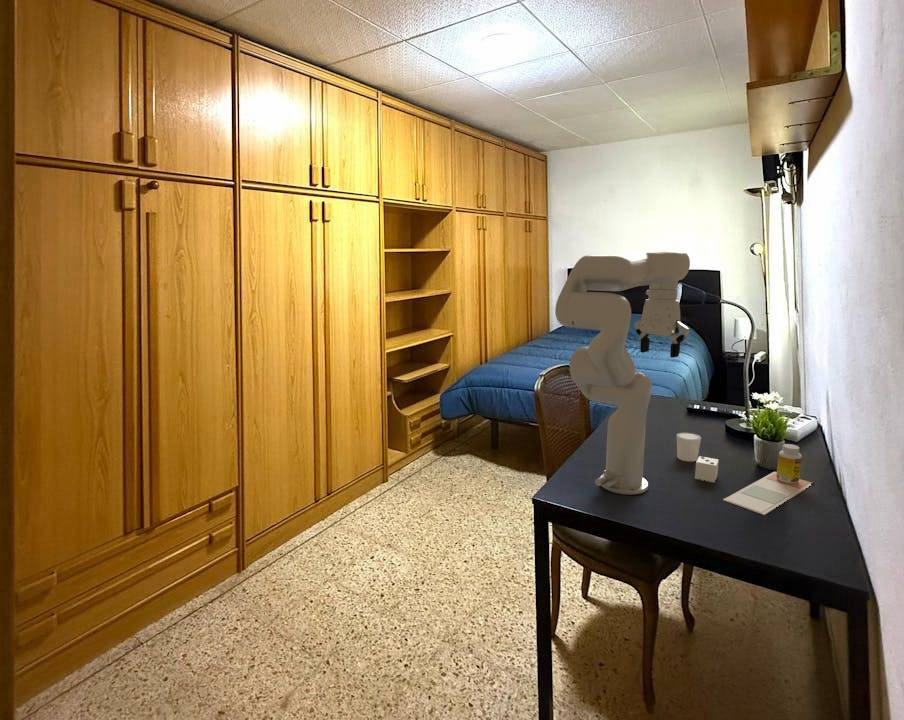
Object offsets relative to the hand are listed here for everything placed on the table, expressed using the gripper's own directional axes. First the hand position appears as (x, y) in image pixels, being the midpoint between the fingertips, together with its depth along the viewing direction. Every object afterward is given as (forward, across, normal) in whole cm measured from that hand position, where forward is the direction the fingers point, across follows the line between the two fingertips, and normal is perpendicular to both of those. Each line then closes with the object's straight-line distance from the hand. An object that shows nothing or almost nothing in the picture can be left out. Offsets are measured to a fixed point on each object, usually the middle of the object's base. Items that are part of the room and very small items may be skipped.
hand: (659, 354), depth 159 cm
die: (+32, +17, 0) cm, 36 cm away
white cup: (+32, +6, +9) cm, 34 cm away
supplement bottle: (+32, +32, +15) cm, 47 cm away
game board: (+32, +32, +4) cm, 46 cm away
